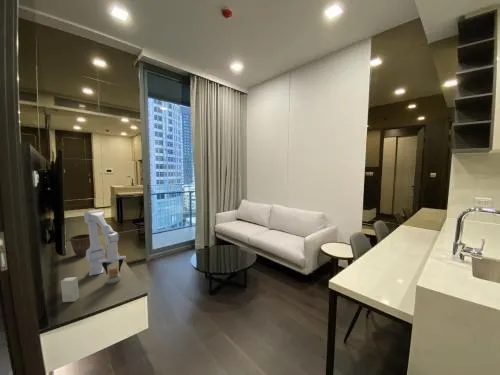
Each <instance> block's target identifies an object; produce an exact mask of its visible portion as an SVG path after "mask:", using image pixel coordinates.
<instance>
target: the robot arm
mask: <svg viewBox="0 0 500 375" xmlns="http://www.w3.org/2000/svg"><path fill="white" fill-rule="evenodd" d="M83 217H84V223H85V224H87V228H88V234H89V237H90V248H89V249H88V250H87V251H86V255H85V259H86V261H87V262H88V263H89V272H88V273H89V274H88V276H89V277H90V276H93V275H94V276H95V275H100V274H103V273H104V270H105V273H106V275H109V269H108V262H112V263H113V262H117V261H118V272H119V273H120V272H121V267H122V265H123V263H124V261H125V260H126V259H127V256H126V255H122V256H121V255H119V254H118V253H119V252H118V250H119V249H118V248H119V247H118V242H119V240H120V234H119V233H118V232H117V231H114V229H113V227H112V226H111V225H110V224H107V221H106V219H105V218H104V217H105V212H104V210H103V209H102V208H100V209H93V210H86V211H84V215H83ZM97 224H98V225H99V227H100V231H101V233H102V235H103V236H104V242H105V246H106V250H107V259H106V258H104V257H105V249H104V248H105V247H104V246H102V245H100V238H99V235H98V234H99V233H98V225H97Z"/></svg>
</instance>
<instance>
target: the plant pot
mask: <svg viewBox="0 0 500 375" xmlns="http://www.w3.org/2000/svg"><path fill="white" fill-rule="evenodd" d="M69 240H70V241H69V242H70V245H71V247H72V251H73V252H74V254H75V256H76V257H77V256H78V257H80V256H81V257H86V251H87V250H88V249H89V248H90V247H91V246H90V237H89V233H83V234H77V235H74V236H71V237H69Z"/></svg>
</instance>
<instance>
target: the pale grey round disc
mask: <svg viewBox="0 0 500 375" xmlns="http://www.w3.org/2000/svg"><path fill="white" fill-rule="evenodd" d="M121 276H122V274H120V273H118V277H116V278H111V279H109V275H107V276H105V277H106V278H105V281H106V282H105V283H106V284H110V285H111V284H116V283H118V282H120V281H121V280H122V277H121Z"/></svg>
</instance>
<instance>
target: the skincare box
mask: <svg viewBox="0 0 500 375" xmlns="http://www.w3.org/2000/svg"><path fill="white" fill-rule="evenodd" d="M60 289H61V297H62V298H61V299H62V303H71V302H72V303H74V302H76V301H78V299H79V298H80V291H79V281H78V276H75V277H65V278H63V279H61V280H60Z"/></svg>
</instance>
